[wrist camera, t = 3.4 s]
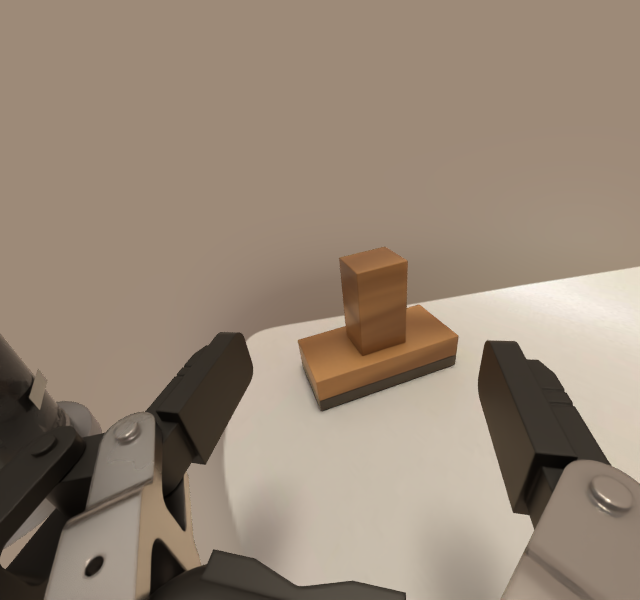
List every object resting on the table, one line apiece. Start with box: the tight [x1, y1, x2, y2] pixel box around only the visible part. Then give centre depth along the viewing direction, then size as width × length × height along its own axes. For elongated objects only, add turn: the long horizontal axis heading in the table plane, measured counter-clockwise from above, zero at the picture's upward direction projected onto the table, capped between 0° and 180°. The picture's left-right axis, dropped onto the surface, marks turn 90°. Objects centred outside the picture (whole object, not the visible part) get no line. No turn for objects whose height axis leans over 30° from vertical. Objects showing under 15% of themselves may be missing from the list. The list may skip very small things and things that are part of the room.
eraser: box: [298, 247, 459, 411], centre depth 22 cm, size 5×11×9 cm, turn 108°
